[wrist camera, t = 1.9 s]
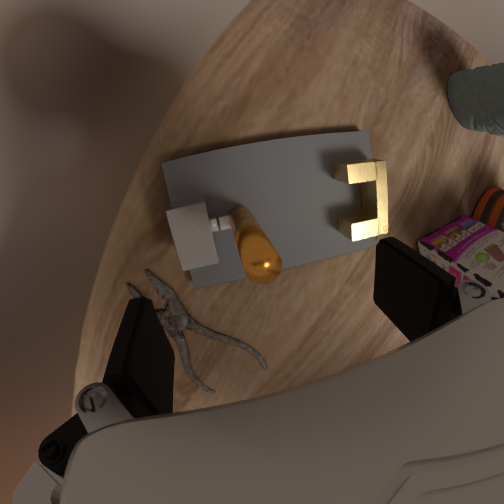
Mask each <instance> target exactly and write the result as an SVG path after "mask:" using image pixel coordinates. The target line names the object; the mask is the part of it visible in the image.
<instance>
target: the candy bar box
mask: <svg viewBox="0 0 504 504" xmlns="http://www.w3.org/2000/svg"><path fill="white" fill-rule="evenodd" d="M417 246H418V253H420V254H421V255H423V256H424V257H426V258H428V259H429V260H431V261H432V262H434V263H435V264H437V265H438V266H440V267H441V268H443V269H444V270H446V271H447V272H448V273H450V274H451V275H453V276H454V277H456V281H455V285H454V286H455V287H458V284H459V283H460V282H461V281H463V280H476V281H478V282H480V283H482V284H484V285H485V286H486V287H487V289H488V290H489V293H490V296H491V297H496V298H504V232H502V231H500V230H498V229H496V228H494V227H492V226H490V225H488V224H485V223H483V222H481V221H479V220H477V219H474V218H472V217H470V216H467V215H463V216H461V217H459V218H457V219H456V220H454V221H452V222H450V223H449V224H447V225H445V226H443V227H442V228H440V229H438V230H436V231H434V232H432V233H431V234H429V235H427V236H425V237H423V238H421V239H419V240H418V241H417Z"/></svg>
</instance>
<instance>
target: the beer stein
mask: <svg viewBox="0 0 504 504" xmlns="http://www.w3.org/2000/svg"><path fill="white" fill-rule="evenodd" d="M472 218H474V219H477V220H479V221H481V222H483V223H485V224H488V225H490V226H492V227H494V228H496V229H498V230H500V231H502V232H504V190H502V189H500V188H498V187H492V188H490V189H489V190H487V191H486V192H485V193H484V194H483V195H482V196H481V197H480V199H479V201H478V202H477V204H476V206H475V209H474V212H473V214H472Z"/></svg>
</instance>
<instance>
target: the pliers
mask: <svg viewBox="0 0 504 504" xmlns="http://www.w3.org/2000/svg"><path fill="white" fill-rule="evenodd" d="M145 273H146V274H147V276H148V278H149V280H150V281H151V283H152V285H154V286H155V287H156V288H157V289H158V294H159V297H160V298H165V299H166V300H168V301H169V304H168V305H167V307H166V308H167V309H166V310H165V311H164V310H163V309H159V310H157V309H155V311H156V314H157V316H158V318H159V321H160V323H161V325H162V327H163V328H164V329H165V330H166V331H167V333H168V334H169V335H170V336H171V337H173V338H174V340H175V341H176V343H177V345H178V348H179V351H180V354H181V357H182V361H183V364H184V367H185V370H186V372H187V374H188V375H189V377H190V378H191V379H192V380H193V381H194V382H195V383H196V384H197V385H198V386H200V387H201V388H202V389H204V390H206V391H207V392H209V393H212V394H215V391H214V390H212V389H211V388H209V387H207V386H206V385H204V384H203V383H202V382H201V381H200V380H199V379H198V378H197V377H196V376H195V374H194V372H193V370H192V367H191V363H190V358H189V351H188V346H187V342H186V339H185V337H184V335H183V332H182V331H181V330H183V329H184V328H185V329H189V330H191V331H193V332H196V333H198V334H200V335H202V336H205V337H208V338H211V339H215V340H218V341H222V342H225V343H229V344H232V345H235V346H238V347H241V348H243V349H245V350H246V351H248V352H249V353H251V354H252V355H253V356H254V357H256V359H257V360H258V361H259V362H260V364H261V366H262V367H263V369H267V365H266V362H265V361H264V359H263V358H262V356H261V355H260V354H259V353H258V352H257V351H256V350H255V349H253V348H252V347H251V346H249V345H248V344H246V343H244V342H242V341H240V340H238V339H235V338H232V337H229V336H227V335H224V334H221V333H218V332H216V331H213V330H211V329H209V328H207V327H205V326H203V325H201V324H200V323H198V322H197V321H196V320H195V319H194V318H193V317H192V316H191V315H189V314H188V313H187V311H186V310H185V308H184V306H183V305H182V303H181V301H180V300H179V298H178V297H177V295H176V293H175V292H174V290H173V289H172V288H171V287H170V286H168V285H167V284H166V283H165V282H163V281H162V280H161V279H160V278H158V277H157V276H156V275H155V274H153V273H152V272H151V271H150V270H149V269H147V270H146V271H145ZM127 288H128V289H129V291H130V292H131V294H132V296H133V297H134V298H138V297H143V296H142V295H141V293H140V291H139V290H137V289H136V288H135V287H134V286H133V285H131V284H130V283H128V284H127ZM146 300H147V299H146ZM151 302H152V301H151ZM187 321H188V322H187Z"/></svg>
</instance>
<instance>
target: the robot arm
mask: <svg viewBox="0 0 504 504" xmlns="http://www.w3.org/2000/svg"><path fill="white" fill-rule="evenodd" d="M455 281H456V277H454V276H453V275H451V274H450V273H448V272H447V271H446V270H444V269H443V268H441V267H440V266H438V265H437V264H435V263H434V262H432V261H431V260H429V259H428V258H426V257H424V256H423V255H421V254H420V253H418V252H417V251H415V250H414V249H412V248H410V247H409V246H407V245H406V244H404V243H402V242H401V241H399V240H397V239H396V238H394V237H388V238H384V239H381V240H380V241H379V243H378V244H377V246H376V263H375V281H374V294H373V299H374V302H375V304H376V305H377V306H378V307H379V308H380V309H381V310H382V311H383V312H384V314H385V315H386V316H387V317H388V318H389V319H390V320H391V321H392V322H393V323H394V324H395V325H396V326H397V327H398V329H399V330H400V331H401V332H402V333H403V334H404V335H405V336H406V337H407V338H408V340H409V341H410V342H409V343H407V344H405V345H403V346H401V347H399V348H397V349H395V350H392V351H390V352H388V353H386V354H383V355H381V356H379V357H376V358H374V359H372V360H369V361H367V362H364V363H362V364H359V365H357V366H354V367H352V368H349V369H347V370H344V371H341V372H338V373H336V374H333V375H330V376H327V377H324V378H321V379H318V380H315V381H312V382H309V383H306V384H303V385H299V386H296V387H293V388H289V389H286V390H282V391H279V392H275V393H271V394H267V395H263V396H259V397H255V398H251V399H247V400H242V401H238V402H233V403H228V404H223V405H217V406H212V407H207V408H201V409H195V410H189V411H182V412H175V413H173V381H174V361H175V356H174V351H173V349H172V346H171V344H170V342H169V340H168V338H167V336H166V334H165V332H164V329H163V327H162V325H161V323H160V321H159V318H158V316H157V314H156V311H155V309H154V307H153V304H152V302H151V300H150V299H147V300H146V298H145V297H138V298H134V299H130V300H129V303H128V305H127V308H126V311H125V314H124V316H123V319H122V322H121V325H120V328H119V331H118V334H117V337H116V339H115V342H114V345H113V348H112V351H111V354H110V357H109V361H108V364H107V367H106V371H105V374H104V378H103V381H102V383H101V382H96V383H92V384H89V385H87V386H85V387H84V388H83V389H82V390H81V391H80V392H79V393H78V395H77V397H76V400H75V408H76V411H77V414H76V415H74V416H73V417H72V418H70V419H69V420H68V421H67V422H65V423H64V424H63V425H62V426H60V427H59V428H58V429H56V430H55V431H54V432H52V433H51V434H50V435H49V436H47V437H46V438H45V439H44V440H43V441H42V443H41V445H40V447H39V459H40V462H39V463H38V462H36V461H35V462H34V463H33V465H32V466H31V467H30V469H29V470H28V471H27V473H26V474H25V476H24V477H23V478H22V480H21V481H20V483H19V484H18V486H17V487H16V489H15V490H14V492H13V498H12V500H13V504H504V298H496V297H491V296H490V293H489V290H488V289H487V287H486V286H485V285H484V284H482V283H480V282H478V281H476V280H463V281H461V282H460V283H459V284H458V287H455V286H454V285H455Z"/></svg>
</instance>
